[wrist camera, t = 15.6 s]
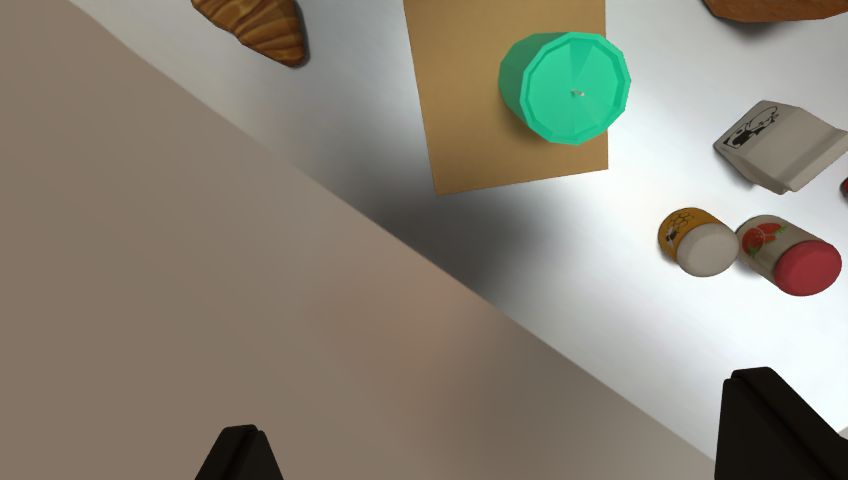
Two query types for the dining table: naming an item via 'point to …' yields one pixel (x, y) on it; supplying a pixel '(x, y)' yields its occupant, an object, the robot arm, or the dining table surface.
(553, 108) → the candle
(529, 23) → the place mat
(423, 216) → the dining table surface
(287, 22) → the croissant
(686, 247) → the toy food
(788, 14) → the bread
